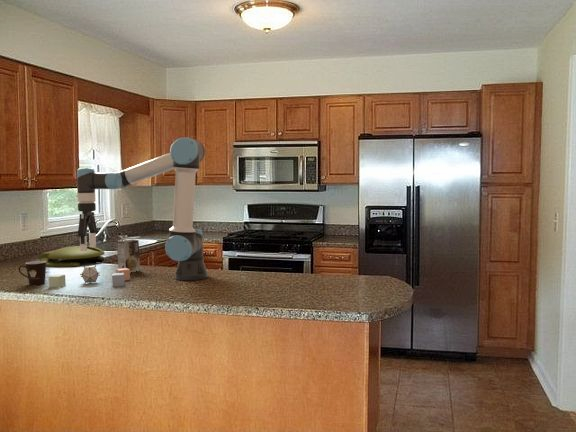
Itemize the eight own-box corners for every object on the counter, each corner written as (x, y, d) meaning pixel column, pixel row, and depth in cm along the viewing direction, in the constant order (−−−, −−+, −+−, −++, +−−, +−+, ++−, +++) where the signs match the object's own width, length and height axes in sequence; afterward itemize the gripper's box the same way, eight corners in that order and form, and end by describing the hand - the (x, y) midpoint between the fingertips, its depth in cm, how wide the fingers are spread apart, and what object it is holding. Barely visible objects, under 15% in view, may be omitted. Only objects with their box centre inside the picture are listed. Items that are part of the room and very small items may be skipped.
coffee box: (132, 270, 279) (131, 239, 278) (140, 271, 275) (139, 239, 274) (117, 272, 272) (116, 241, 271) (125, 273, 268) (124, 241, 267)
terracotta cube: (126, 278, 256) (126, 267, 256) (130, 279, 252) (129, 269, 252) (116, 279, 253) (115, 269, 253) (119, 281, 249) (118, 270, 249)
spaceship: (28, 267, 297) (27, 250, 296) (61, 259, 327) (60, 243, 327) (87, 268, 291) (86, 250, 291) (114, 259, 322) (113, 243, 321)
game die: (92, 292, 244) (91, 276, 237) (76, 285, 245) (74, 269, 239) (104, 279, 251) (103, 264, 244) (88, 272, 252) (87, 257, 246)
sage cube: (65, 285, 241) (65, 274, 241) (59, 287, 236) (59, 276, 236) (55, 285, 242) (54, 274, 242) (49, 287, 237) (48, 276, 237)
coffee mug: (51, 282, 248) (50, 261, 247) (35, 286, 240) (34, 264, 239) (33, 281, 253) (32, 260, 252) (17, 284, 245) (16, 263, 244)
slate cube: (124, 283, 243) (123, 272, 243) (124, 285, 238) (123, 274, 238) (112, 284, 241) (112, 273, 241) (112, 286, 237) (112, 275, 236)
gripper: (86, 201, 255) (88, 245, 256) (68, 203, 230) (70, 253, 231) (102, 201, 255) (104, 245, 257) (86, 203, 230) (88, 252, 232)
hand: (88, 249), depth 244 cm, fingers open, 13 cm apart
